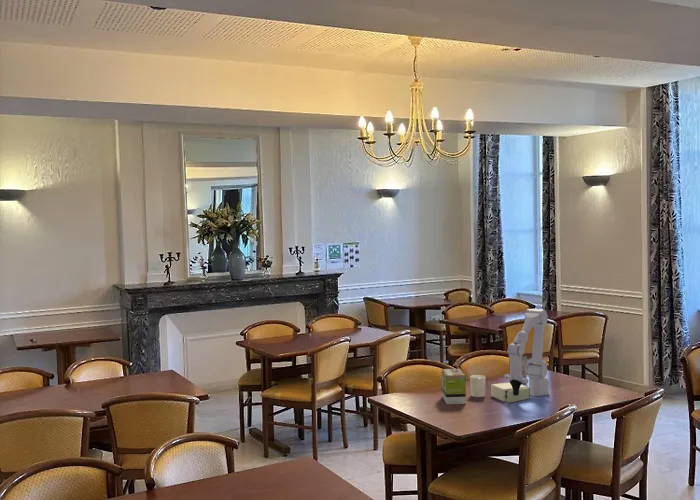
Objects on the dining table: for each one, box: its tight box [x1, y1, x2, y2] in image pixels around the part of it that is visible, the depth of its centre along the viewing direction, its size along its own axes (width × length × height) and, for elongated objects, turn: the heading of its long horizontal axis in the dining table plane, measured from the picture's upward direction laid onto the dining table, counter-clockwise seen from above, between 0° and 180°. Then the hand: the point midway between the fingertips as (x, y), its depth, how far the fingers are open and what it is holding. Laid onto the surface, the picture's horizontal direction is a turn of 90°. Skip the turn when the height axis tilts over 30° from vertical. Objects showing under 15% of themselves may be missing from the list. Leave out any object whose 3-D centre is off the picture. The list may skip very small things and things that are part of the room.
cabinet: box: [490, 382, 529, 402], centre depth 347 cm, size 14×12×6 cm
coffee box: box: [508, 353, 528, 385], centre depth 381 cm, size 9×6×16 cm
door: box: [506, 386, 531, 404], centre depth 340 cm, size 15×2×6 cm, turn 121°
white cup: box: [469, 374, 487, 398], centre depth 352 cm, size 8×8×10 cm
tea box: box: [441, 368, 467, 405], centre depth 343 cm, size 15×10×15 cm, turn 1°
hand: (516, 395), depth 338 cm, fingers closed, pressing on door
